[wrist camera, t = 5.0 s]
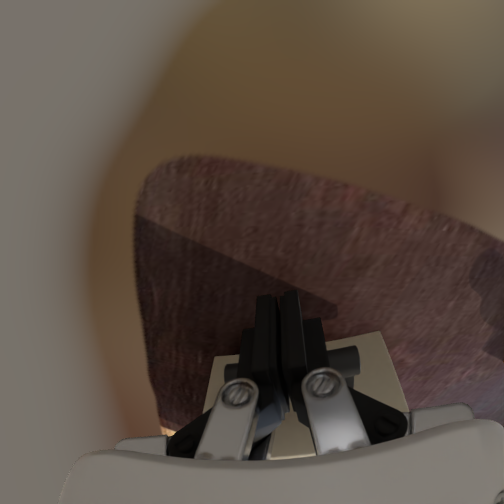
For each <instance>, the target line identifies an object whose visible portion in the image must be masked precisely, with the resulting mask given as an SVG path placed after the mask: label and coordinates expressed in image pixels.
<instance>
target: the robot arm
mask: <svg viewBox="0 0 504 504" xmlns="http://www.w3.org/2000/svg"><path fill="white" fill-rule="evenodd" d="M289 397H290V400H291V404H292V408H293V411H294V412H296V413H297V417H298V421H299V422H300V423H302V424H303V425H305V426H306V427H308V428H309V431H310V435H311V439H312V443H313V446H314V450H315V454H316V456H310V457H302V458H292V459H279V460H270V457H271V452H272V447H273V442H274V437H275V429H276V428H277V427H278V426H279V425H280V424H281V423H282V420H285V413H289V412H290V400H289ZM57 504H504V428H503V426H501V425H500V424H499V423H497V422H495V421H492V420H486V419H475V417H474V413H473V410H472V408H471V407H470V406H469V405H468V404H465V403H453V404H447V405H441V406H434V407H426V408H418V409H411V411H410V412H401V411H399V410H397V409H395V408H393V407H391V406H389V405H386V404H384V403H382V402H380V401H378V400H376V399H373V398H371V397H369V396H367V395H365V394H363V393H361V392H359V391H357V390H355V389H353V388H351V387H349V386H347V383H346V381H345V378H344V377H343V375H342V374H341V372H339V371H338V370H336V369H333V368H330V364H329V359H328V353H327V348H326V343H325V338H324V333H323V328H322V323H321V318H314V319H308V320H303V319H302V313H301V308H300V302H299V296H298V291H297V290H293V291H287V292H284V296H280V311H279V307H278V303H277V298H276V297H271V295H270V294H269V295H263V296H257V303H256V316H255V328H250V329H244V330H243V332H242V339H241V346H240V354H239V362H238V369H237V377H236V378H235V379H232V380H230V381H228V382H226V383H225V384H224V385H223V386H222V387H221V388H220V390H219V392H218V394H217V397H216V399H215V402H214V405H213V407H212V408H210V409H209V410H207V411H206V412H205V413H203V414H202V415H201V416H199V417H198V418H196V419H195V420H193V421H192V422H191V423H189V424H188V425H186V426H185V427H183V428H182V429H180V430H179V431H177V432H176V433H175V434H174V435H173V436H169V437H168V436H167V435H158V436H149V437H137V438H136V437H135V438H125V439H122V440H121V441H119V442H118V443H117V444H116V446H115V449H108V450H100V451H95V452H91V453H87V454H85V455H83V456H81V457H80V458H79V459H78V460H77V461H76V462H75V464H74V465H73V467H72V468H71V470H70V472H69V474H68V477H67V479H66V481H65V484H64V486H63V489H62V491H61V494H60V497H59V500H58V503H57Z"/></svg>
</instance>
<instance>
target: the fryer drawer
mask: <svg viewBox="0 0 504 504" xmlns="http://www.w3.org/2000/svg"><path fill="white" fill-rule="evenodd" d="M325 343H326V348H327V353H328V359H329V364H330V368H333V369H336V370H338V371H339V372H341V374H342V375H343V377H344V378H345V381H346V383H347V386H349V387H351V388H353V389H355V390H357V391H359V392H361V393H363V394H365V395H367V396H369V397H371V398H373V399H376V400H378V401H380V402H382V403H384V404H386V405H389V406H391V407H393V408H395V409H397V410H399V411H401V412H409V409H408V406H407V403H406V400H405V397H404V394H403V391H402V388H401V386H400V383H399V380H398V377H397V374H396V371H395V369H394V366H393V363H392V361H391V358H390V355H389V353H388V350H387V348H386V345H385V343H384V340H383V338H382V335H381V333H380V331H376V332H372V333H368V334H363V335H359V336H354V337H349V338H344V339H339V340H334V341H329V342H325ZM238 362H239V355H228V356H216V357H214V362H213V366H212V371H211V376H210V381H209V385H208V390H207V395H206V400H205V404H204V409H203V413H205V412H206V411H207V410H209V409H210V408H212V407H213V405H214V402H215V399H216V397H217V394H218V392H219V390H220V388H221V387H222V386H223V385H224V384H225V383H226V382H228V381H230V380H232V379H235V378H236V377H237V369H238ZM289 400H290V397H289ZM310 456H316V454H315V450H314V446H313V443H312V439H311V435H310V431H309V428H308V427H306V426H305V425H303V424H302V423H300V422H299V421H298V417H297V413H296V412H294V411H293V408H292V404H291V400H290V412H289V413H285V420H282V423H281V424H280V425H279V426H278V427H277V428H276V429H275V437H274V442H273V447H272V452H271V457H270V460H279V459H292V458H302V457H310Z"/></svg>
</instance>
